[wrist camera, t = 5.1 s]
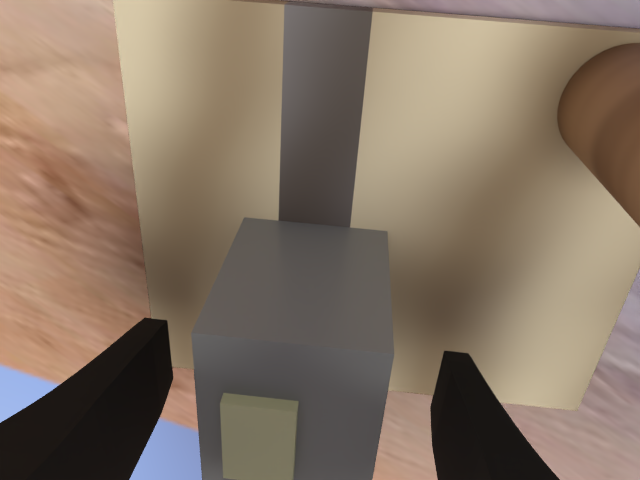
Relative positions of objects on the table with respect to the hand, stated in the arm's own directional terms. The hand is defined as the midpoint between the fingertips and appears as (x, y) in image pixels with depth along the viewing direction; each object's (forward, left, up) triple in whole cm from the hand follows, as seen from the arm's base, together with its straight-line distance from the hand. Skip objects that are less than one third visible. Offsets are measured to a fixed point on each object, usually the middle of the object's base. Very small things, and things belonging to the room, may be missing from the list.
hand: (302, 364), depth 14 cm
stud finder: (0, 0, -3) cm, 3 cm away
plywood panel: (-2, -2, -3) cm, 5 cm away
